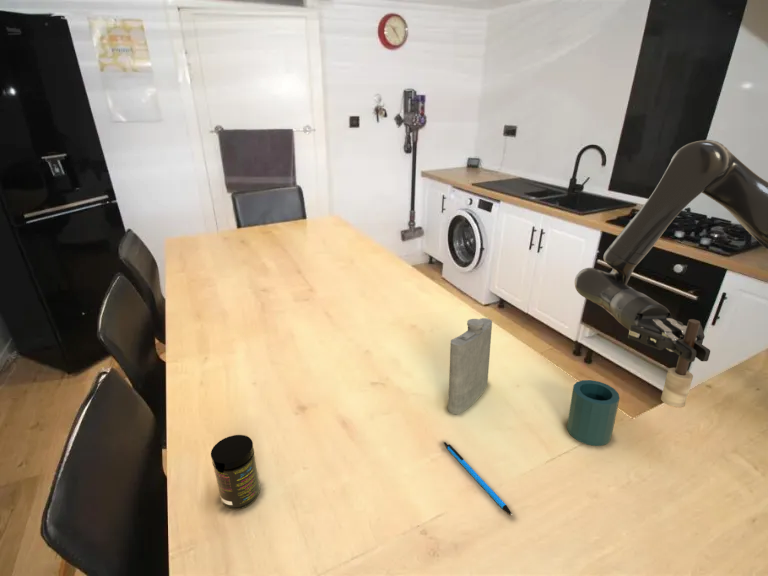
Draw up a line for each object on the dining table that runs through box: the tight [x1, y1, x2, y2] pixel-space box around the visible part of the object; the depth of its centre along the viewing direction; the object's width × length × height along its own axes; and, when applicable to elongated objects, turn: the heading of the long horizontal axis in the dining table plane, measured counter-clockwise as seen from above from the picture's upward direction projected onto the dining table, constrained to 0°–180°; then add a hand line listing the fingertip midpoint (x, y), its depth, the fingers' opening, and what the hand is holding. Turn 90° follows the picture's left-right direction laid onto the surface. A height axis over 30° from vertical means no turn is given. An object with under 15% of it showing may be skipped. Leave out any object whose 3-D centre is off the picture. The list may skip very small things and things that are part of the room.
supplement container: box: [210, 434, 261, 510], centre depth 71 cm, size 7×7×10 cm
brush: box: [660, 318, 701, 409], centre depth 71 cm, size 4×4×16 cm
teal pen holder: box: [566, 379, 620, 447], centre depth 83 cm, size 8×8×10 cm
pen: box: [443, 441, 513, 516], centre depth 75 cm, size 1×19×1 cm, turn 27°
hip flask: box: [447, 317, 493, 415], centre depth 94 cm, size 16×4×20 cm, turn 141°
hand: (700, 356), depth 67 cm, fingers closed on brush
